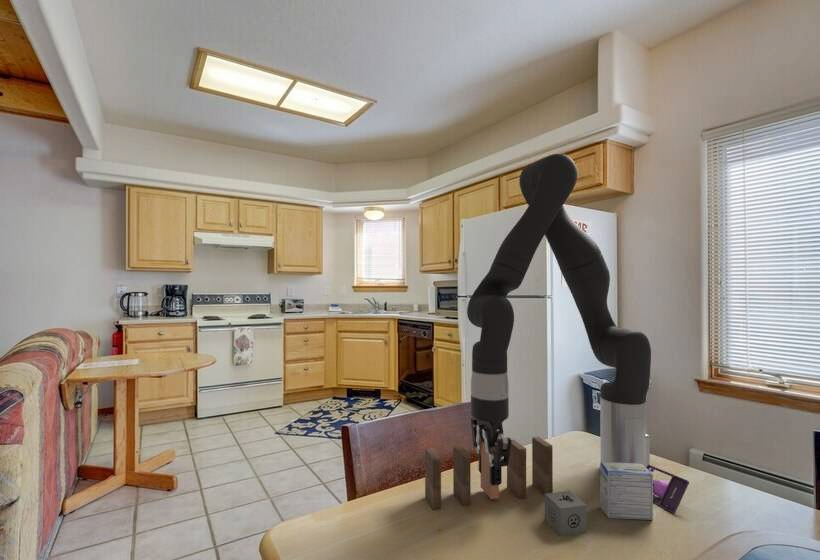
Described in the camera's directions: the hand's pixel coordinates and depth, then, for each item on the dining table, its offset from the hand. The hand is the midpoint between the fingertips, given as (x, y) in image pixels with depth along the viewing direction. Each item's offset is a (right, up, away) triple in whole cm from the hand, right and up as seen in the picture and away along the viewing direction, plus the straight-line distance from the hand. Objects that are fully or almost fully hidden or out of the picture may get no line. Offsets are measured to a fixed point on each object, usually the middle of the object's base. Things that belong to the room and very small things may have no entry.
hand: (489, 477), depth 83 cm
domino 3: (0, -3, 0) cm, 3 cm away
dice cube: (+11, -4, -10) cm, 16 cm away
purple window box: (+37, -2, -5) cm, 37 cm away
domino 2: (-6, -4, -2) cm, 7 cm away
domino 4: (+6, -4, +2) cm, 7 cm away
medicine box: (+24, -4, -6) cm, 25 cm away
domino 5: (+12, -4, +3) cm, 13 cm away
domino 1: (-12, -4, -3) cm, 13 cm away
